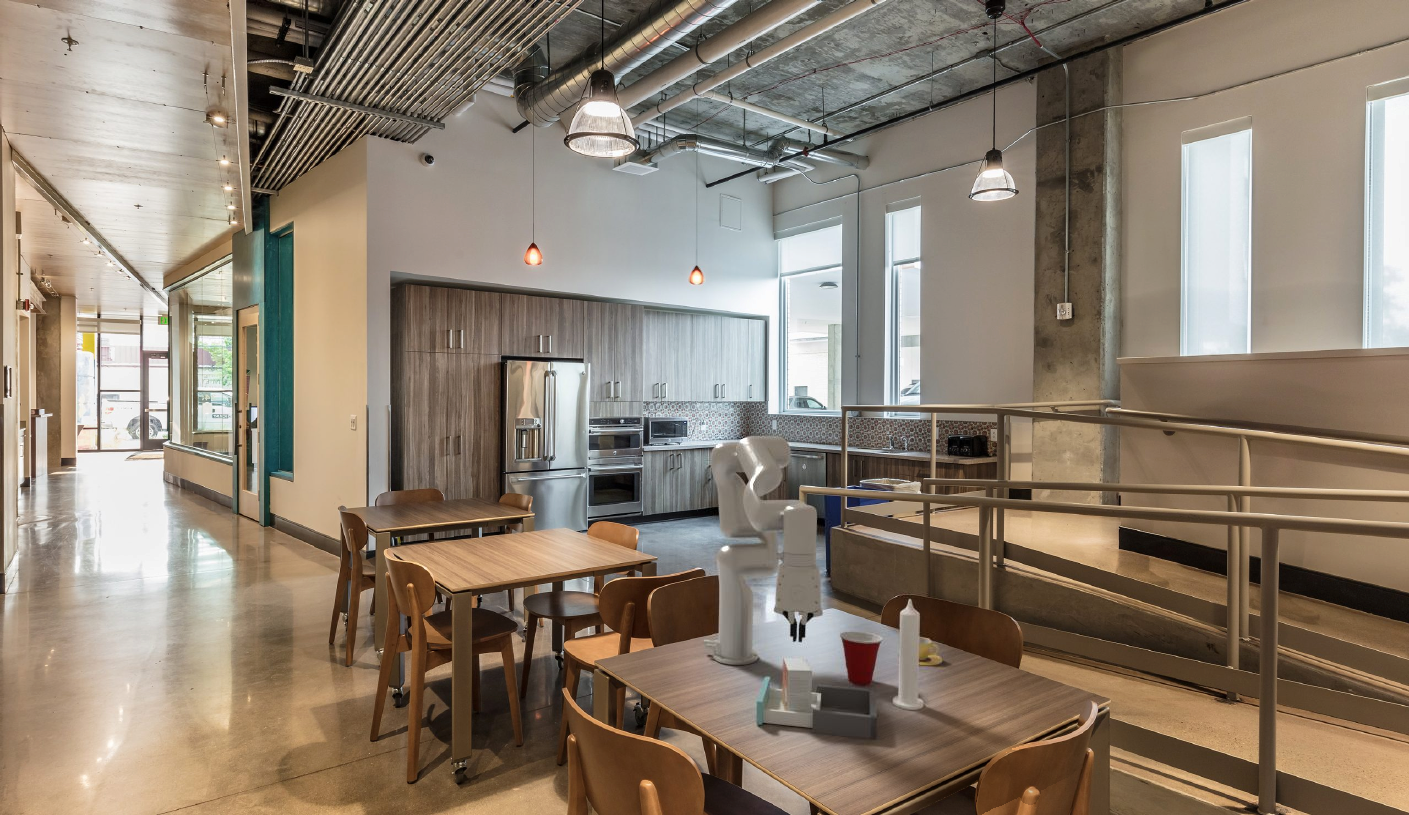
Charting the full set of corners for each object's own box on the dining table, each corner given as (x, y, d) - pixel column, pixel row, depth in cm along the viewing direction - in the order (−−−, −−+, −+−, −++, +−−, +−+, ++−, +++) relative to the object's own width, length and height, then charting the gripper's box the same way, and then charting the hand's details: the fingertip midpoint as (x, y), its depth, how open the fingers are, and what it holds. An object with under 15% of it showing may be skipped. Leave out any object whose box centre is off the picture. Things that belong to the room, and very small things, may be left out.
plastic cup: (886, 678, 189) (887, 632, 189) (876, 692, 179) (877, 643, 179) (845, 670, 194) (846, 625, 194) (833, 684, 184) (834, 636, 184)
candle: (924, 700, 175) (926, 596, 175) (922, 712, 168) (925, 604, 168) (893, 696, 177) (895, 593, 177) (891, 707, 170) (893, 600, 170)
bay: (812, 732, 156) (812, 711, 156) (816, 703, 172) (816, 684, 172) (876, 739, 153) (876, 718, 153) (874, 708, 169) (874, 689, 169)
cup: (895, 662, 201) (895, 643, 201) (900, 649, 212) (901, 631, 212) (940, 669, 197) (940, 649, 197) (943, 655, 208) (944, 637, 208)
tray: (756, 724, 159) (756, 701, 159) (764, 697, 174) (765, 676, 174) (818, 730, 156) (818, 707, 156) (821, 702, 171) (821, 681, 171)
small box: (781, 702, 169) (782, 657, 169) (805, 702, 169) (806, 657, 169) (786, 717, 161) (787, 669, 161) (811, 717, 161) (812, 670, 161)
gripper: (764, 560, 163) (762, 642, 163) (832, 565, 160) (831, 648, 160) (767, 554, 170) (766, 632, 170) (833, 558, 167) (831, 638, 167)
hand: (797, 639), depth 165 cm, fingers closed
